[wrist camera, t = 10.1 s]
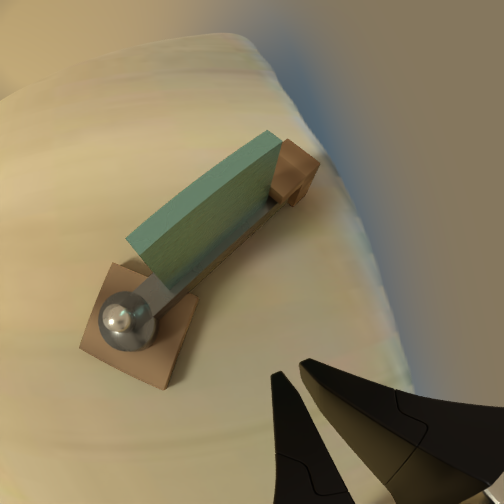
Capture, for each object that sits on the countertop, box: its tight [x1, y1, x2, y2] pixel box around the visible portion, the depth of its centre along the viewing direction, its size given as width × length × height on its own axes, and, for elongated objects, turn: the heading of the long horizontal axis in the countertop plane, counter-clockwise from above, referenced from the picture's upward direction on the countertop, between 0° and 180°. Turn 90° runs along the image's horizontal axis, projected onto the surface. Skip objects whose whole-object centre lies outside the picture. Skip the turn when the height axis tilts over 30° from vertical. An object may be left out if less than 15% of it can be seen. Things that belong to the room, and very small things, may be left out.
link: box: [98, 130, 289, 352], centre depth 18 cm, size 19×4×10 cm, turn 136°
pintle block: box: [79, 262, 199, 390], centre depth 21 cm, size 8×8×1 cm
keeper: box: [268, 139, 320, 207], centre depth 24 cm, size 5×4×5 cm
